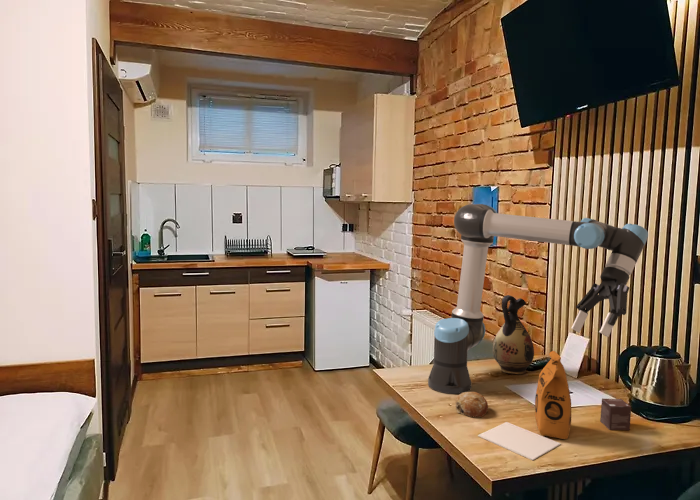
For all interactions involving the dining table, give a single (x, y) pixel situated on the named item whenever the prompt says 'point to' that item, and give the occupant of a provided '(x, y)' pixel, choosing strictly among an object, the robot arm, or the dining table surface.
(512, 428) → the mat
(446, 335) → the robot arm
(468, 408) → the bread roll
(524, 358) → the ceramic jug
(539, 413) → the coffee package
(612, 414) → the box
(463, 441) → the dining table surface
